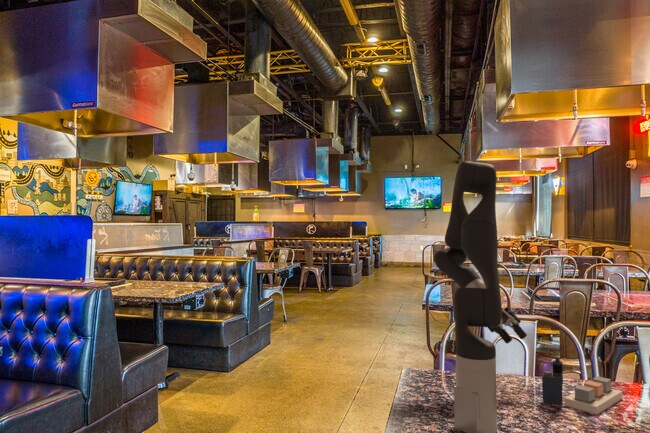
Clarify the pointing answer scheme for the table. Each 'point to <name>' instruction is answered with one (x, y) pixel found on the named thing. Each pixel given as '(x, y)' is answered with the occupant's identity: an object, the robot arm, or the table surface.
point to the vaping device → (553, 384)
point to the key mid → (595, 387)
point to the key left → (584, 393)
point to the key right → (603, 381)
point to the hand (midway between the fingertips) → (517, 339)
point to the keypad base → (594, 402)
